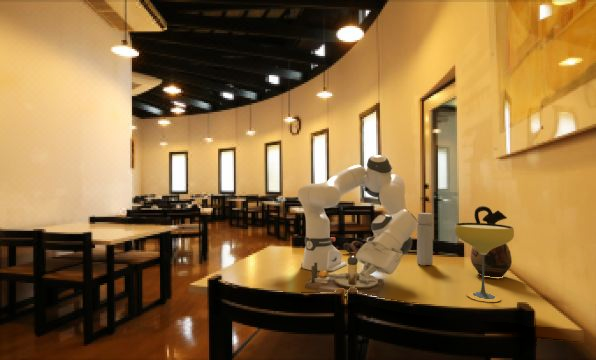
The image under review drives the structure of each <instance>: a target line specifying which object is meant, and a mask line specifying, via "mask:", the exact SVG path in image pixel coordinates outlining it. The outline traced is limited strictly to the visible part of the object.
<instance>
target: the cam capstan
mask: <svg viewBox="0 0 596 360" xmlns="http://www.w3.org/2000/svg"><path fill="white" fill-rule="evenodd" d="M358 263H359V261H358V260H357V258H356V256H355V255H351V256H349V257H348V258H347V267H348V268H347V272H344V273H337V274H338V275H333V274H331V273H330V274H328V271H325V270H321V271H319V273H318V276H319V277H320V278H322V279H325V278H330V277H332V278H334V282H335V284H337V285H339V286H342V287H346V288H350V287H355V288H357V289H368V288H373V287H376V286H377V285H378V279H379V278H378V279H377V277H376V276H375V275H374V276H373V275H372V274H370V275H369V277H368V278H367V277H364V276H362V275H361V274H360V272H358V271H357V270H358V266H357V265H358Z"/></svg>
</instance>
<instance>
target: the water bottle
mask: <svg viewBox="0 0 596 360" xmlns="http://www.w3.org/2000/svg"><path fill="white" fill-rule="evenodd" d="M417 222H418V224H417V226H416V230H417V231H416V240H417V241H416V263H417V265H419V264H420V266H422V265H431V266H432V265H433V263H434V262H433V259H434V257H433V256H434V255H433V253H434V252H433V251H434V250H433V249H434V247H433V246H434V237H433V236H434V235H433V234H434V214H433V213H431V212H430V213H429V212H418V213H417Z"/></svg>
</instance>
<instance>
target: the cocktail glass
mask: <svg viewBox="0 0 596 360" xmlns="http://www.w3.org/2000/svg"><path fill="white" fill-rule="evenodd" d="M454 233H455V235H456V236H457V238H458V239H460V240H461V241H463V242H464V243H466V244H468V245H469V246H471V247H475V248H476V249H477V250H478V252H479V253H480V254H481V255H482V276H481V288H480V291H475V292H476V293H473V295H474V296H477V297H479V298H484V299H494V298H495V296H493V295H494V294H493V295H491V294H492V293H489V294H488V292H486V287H485V277H484V255H486V254H487V253H488V252H489V251H490V250H491V249H493V248H496V247H498V246H501V245H504V244H508V243H510V242H511V241H512V240H513V239H514V237H515V230H514V227H513V226H510V225H503V224H499V223H498V224H497V223H495V224H487V222H486V223H484V222H482V223H481V222H480V223H476V222H459V223H455V226H454Z"/></svg>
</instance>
